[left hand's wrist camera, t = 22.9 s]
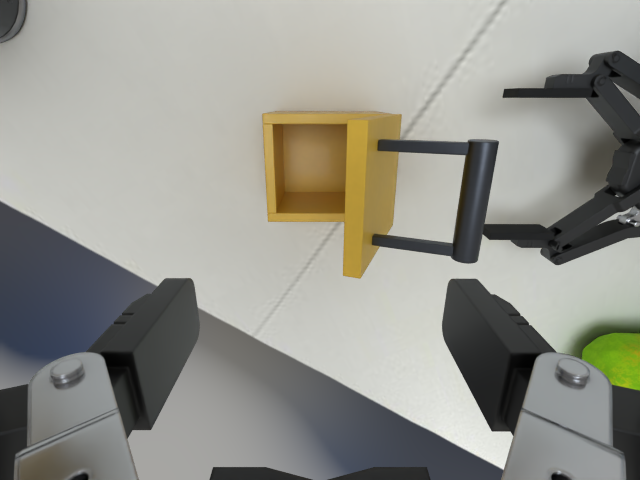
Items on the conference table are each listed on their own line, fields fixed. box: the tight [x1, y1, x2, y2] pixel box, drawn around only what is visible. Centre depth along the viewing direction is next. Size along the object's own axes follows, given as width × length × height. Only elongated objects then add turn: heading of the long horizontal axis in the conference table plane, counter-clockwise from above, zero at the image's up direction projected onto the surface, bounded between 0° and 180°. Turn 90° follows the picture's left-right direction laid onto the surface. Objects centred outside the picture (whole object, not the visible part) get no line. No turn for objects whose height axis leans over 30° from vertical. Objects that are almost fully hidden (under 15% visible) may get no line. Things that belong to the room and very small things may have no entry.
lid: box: [343, 114, 499, 278], centre depth 26 cm, size 12×10×8 cm
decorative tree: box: [582, 333, 640, 390], centre depth 48 cm, size 18×10×30 cm
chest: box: [262, 111, 389, 222], centre depth 37 cm, size 12×10×10 cm
